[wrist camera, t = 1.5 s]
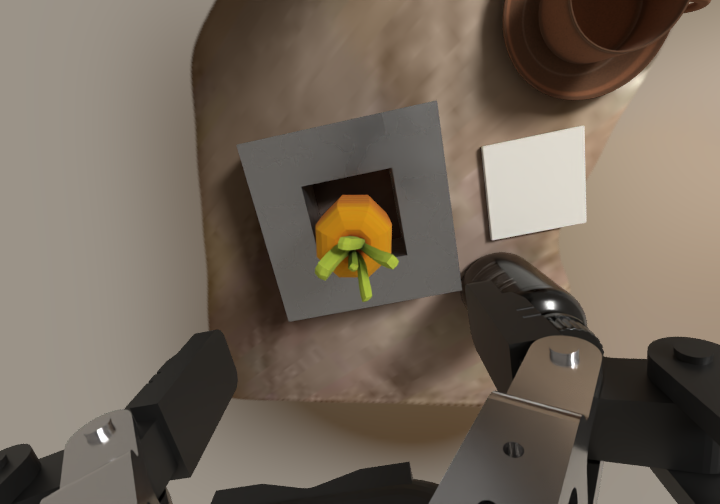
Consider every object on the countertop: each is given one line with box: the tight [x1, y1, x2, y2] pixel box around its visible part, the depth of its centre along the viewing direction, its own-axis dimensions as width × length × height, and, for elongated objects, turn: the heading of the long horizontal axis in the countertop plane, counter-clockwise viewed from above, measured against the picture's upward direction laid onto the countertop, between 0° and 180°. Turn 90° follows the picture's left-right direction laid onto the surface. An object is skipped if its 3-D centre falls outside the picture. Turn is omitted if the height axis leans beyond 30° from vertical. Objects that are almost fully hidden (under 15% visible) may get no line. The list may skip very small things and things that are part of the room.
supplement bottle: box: [461, 252, 604, 357], centre depth 28 cm, size 7×7×12 cm
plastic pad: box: [481, 126, 586, 240], centre depth 31 cm, size 8×8×1 cm
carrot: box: [315, 195, 399, 302], centre depth 25 cm, size 5×5×15 cm
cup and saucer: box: [503, 0, 711, 100], centre depth 24 cm, size 12×12×6 cm
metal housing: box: [237, 101, 462, 322], centre depth 29 cm, size 14×14×5 cm
